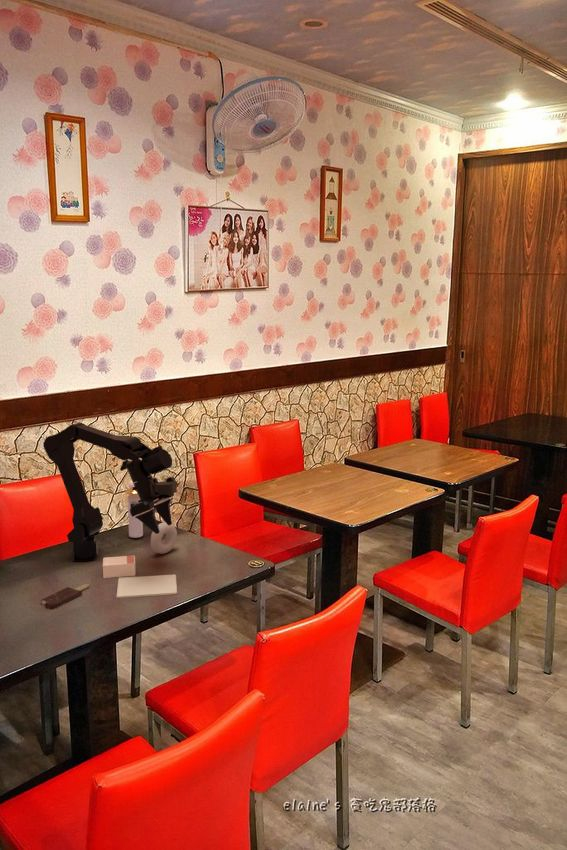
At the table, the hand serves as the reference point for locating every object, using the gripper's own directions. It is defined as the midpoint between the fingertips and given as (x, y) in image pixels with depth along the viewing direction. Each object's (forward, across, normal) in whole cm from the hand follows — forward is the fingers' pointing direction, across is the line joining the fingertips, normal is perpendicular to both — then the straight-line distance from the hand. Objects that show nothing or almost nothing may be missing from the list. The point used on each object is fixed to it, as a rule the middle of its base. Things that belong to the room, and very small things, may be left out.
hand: (164, 529), depth 203 cm
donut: (+9, +15, +11) cm, 21 cm away
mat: (+12, -9, +7) cm, 17 cm away
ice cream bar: (+6, -20, +24) cm, 32 cm away
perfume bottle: (+2, +26, +23) cm, 35 cm away
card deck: (+7, -2, +18) cm, 19 cm away
